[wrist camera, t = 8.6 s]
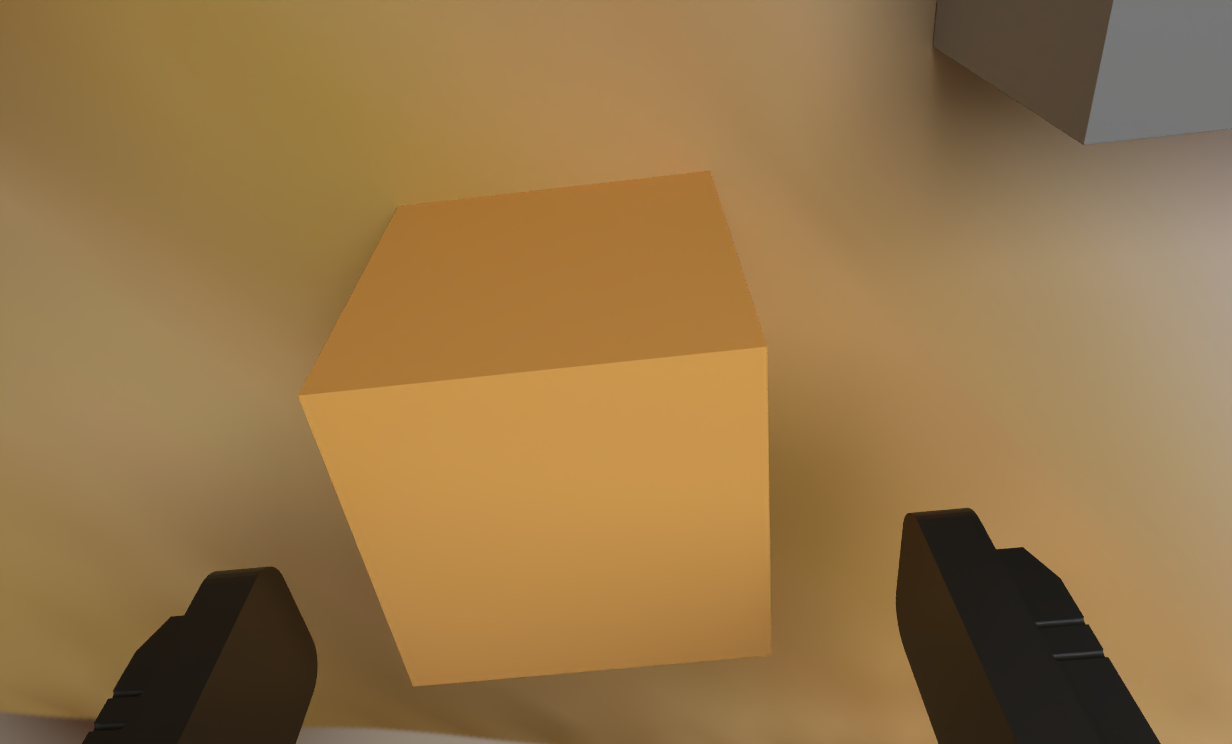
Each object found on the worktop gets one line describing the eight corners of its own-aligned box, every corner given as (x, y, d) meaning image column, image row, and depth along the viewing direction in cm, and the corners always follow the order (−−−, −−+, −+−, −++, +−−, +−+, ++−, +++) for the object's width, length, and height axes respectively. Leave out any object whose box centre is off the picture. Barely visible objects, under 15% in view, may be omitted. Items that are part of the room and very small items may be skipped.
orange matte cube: (464, 447, 18) (413, 686, 13) (399, 205, 15) (297, 395, 10) (722, 421, 18) (771, 655, 13) (709, 169, 15) (767, 346, 10)
